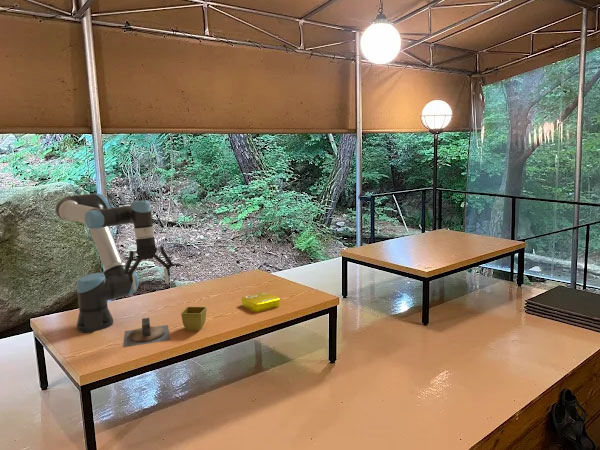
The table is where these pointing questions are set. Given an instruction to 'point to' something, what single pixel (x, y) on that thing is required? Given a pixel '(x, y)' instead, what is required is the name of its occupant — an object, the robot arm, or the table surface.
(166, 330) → the mat
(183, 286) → the table surface
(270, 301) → the element tile
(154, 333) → the lid
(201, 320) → the flower pot
